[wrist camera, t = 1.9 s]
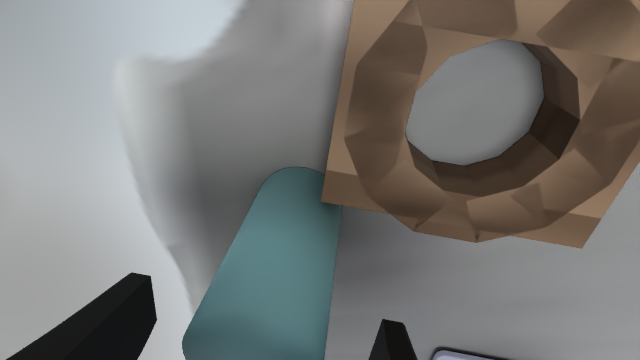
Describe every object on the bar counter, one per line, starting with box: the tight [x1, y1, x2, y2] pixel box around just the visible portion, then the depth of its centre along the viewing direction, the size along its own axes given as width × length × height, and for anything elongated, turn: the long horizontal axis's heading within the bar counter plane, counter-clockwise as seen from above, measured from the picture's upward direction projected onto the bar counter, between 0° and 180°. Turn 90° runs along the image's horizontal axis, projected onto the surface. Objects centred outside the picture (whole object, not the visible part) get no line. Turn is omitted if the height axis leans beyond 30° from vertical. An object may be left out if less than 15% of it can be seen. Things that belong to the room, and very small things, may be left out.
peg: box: [182, 167, 342, 360], centre depth 13 cm, size 4×4×8 cm
